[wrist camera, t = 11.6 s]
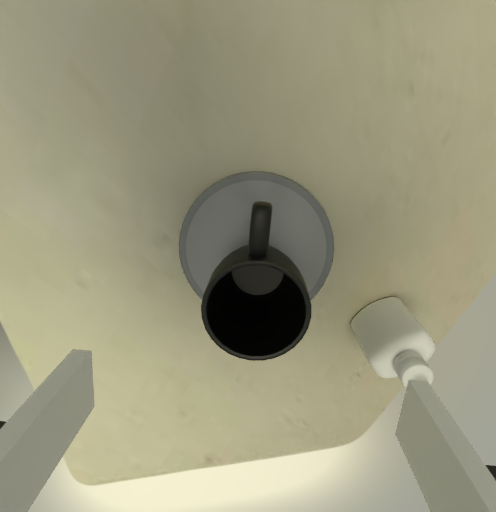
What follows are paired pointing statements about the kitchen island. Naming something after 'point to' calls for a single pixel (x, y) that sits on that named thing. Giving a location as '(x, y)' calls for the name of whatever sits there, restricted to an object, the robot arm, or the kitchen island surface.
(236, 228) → the round gray plate
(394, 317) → the eye dropper bottle
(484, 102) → the kitchen island surface
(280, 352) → the mug
